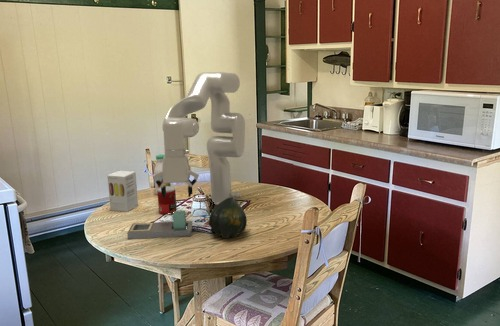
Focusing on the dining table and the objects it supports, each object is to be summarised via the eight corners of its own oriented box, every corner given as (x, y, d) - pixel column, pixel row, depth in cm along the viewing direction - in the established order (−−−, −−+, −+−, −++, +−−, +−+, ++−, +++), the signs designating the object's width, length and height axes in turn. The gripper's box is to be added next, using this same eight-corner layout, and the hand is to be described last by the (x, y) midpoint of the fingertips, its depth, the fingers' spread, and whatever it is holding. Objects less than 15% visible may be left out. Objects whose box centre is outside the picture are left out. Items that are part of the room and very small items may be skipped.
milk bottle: (153, 194, 220) (149, 156, 215) (160, 190, 227) (157, 153, 223) (166, 195, 218) (163, 157, 213) (173, 191, 225) (171, 153, 220)
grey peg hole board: (192, 226, 177) (192, 220, 176) (190, 236, 167) (190, 229, 166) (133, 229, 176) (132, 222, 175) (127, 239, 166) (127, 232, 165)
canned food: (173, 215, 190) (171, 191, 188) (156, 214, 192) (154, 190, 189) (179, 209, 198) (177, 186, 195) (162, 208, 199) (161, 185, 197)
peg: (186, 229, 174) (185, 210, 172) (185, 233, 170) (184, 214, 168) (175, 230, 174) (173, 211, 172) (174, 234, 169) (172, 215, 168)
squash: (205, 230, 158) (231, 198, 158) (199, 218, 172) (222, 188, 172) (235, 251, 163) (259, 219, 163) (226, 237, 177) (249, 208, 177)
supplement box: (109, 210, 199) (106, 175, 195) (121, 204, 207) (118, 170, 203) (128, 212, 196) (124, 176, 192) (139, 205, 204) (135, 171, 200)
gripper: (198, 150, 168) (200, 193, 172) (153, 151, 167) (156, 194, 171) (197, 154, 161) (199, 198, 165) (150, 155, 160) (153, 200, 164)
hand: (177, 196), depth 168 cm, fingers open, 9 cm apart
